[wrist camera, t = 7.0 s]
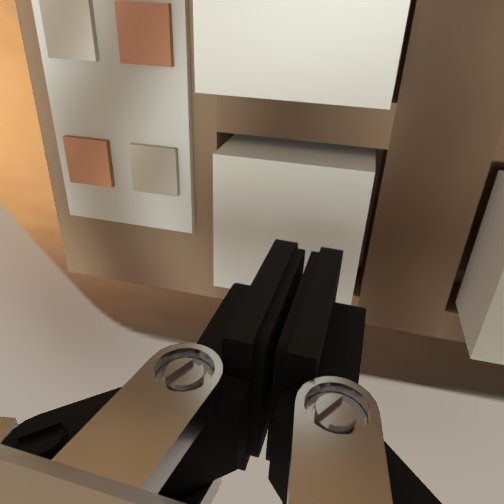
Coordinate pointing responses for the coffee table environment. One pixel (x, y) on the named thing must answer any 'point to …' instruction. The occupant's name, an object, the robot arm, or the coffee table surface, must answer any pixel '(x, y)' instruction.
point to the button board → (266, 125)
